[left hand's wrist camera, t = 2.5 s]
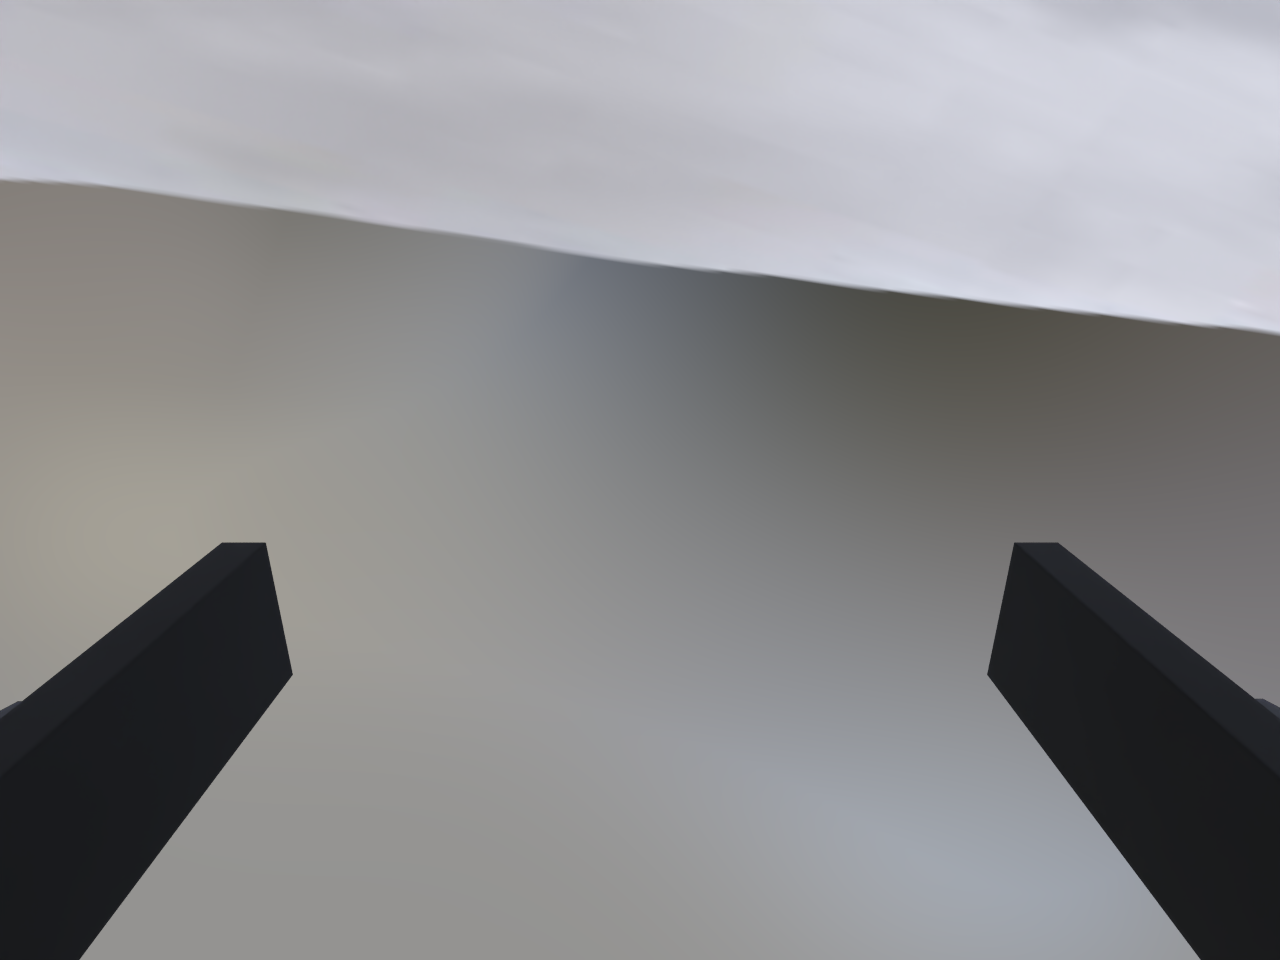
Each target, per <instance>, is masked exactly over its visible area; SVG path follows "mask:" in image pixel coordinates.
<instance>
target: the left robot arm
mask: <svg viewBox="0 0 1280 960" xmlns="http://www.w3.org/2000/svg"><path fill="white" fill-rule="evenodd" d="M292 675H293V673H292V669H291V664H290V659H289V654H288V649H287V644H286V639H285V635H284V630H283V625H282V620H281V615H280V610H279V605H278V600H277V595H276V591H275V586H274V581H273V576H272V571H271V566H270V561H269V556H268V551H267V547H266V543H221V544H220V545H219V546H217V547H216V548H215V549H213V550H212V551H211V552H210V553H208V554H207V555H206V556H205V557H203V558H202V559H201V560H200V561H198V562H197V563H196V564H195V565H193V566H192V567H191V568H190V569H188V570H187V571H186V572H184V573H183V574H182V575H181V576H179V577H178V578H177V579H176V580H174V581H173V582H172V583H171V584H169V585H168V586H167V587H166V588H164V589H163V590H162V591H161V592H159V593H158V594H157V595H155V596H154V597H153V598H152V599H150V600H149V601H148V602H147V603H145V604H144V605H143V606H142V607H140V608H139V609H138V610H137V611H135V612H134V613H133V614H132V615H130V616H129V617H128V618H126V619H125V620H124V621H123V622H121V623H120V624H119V625H118V626H116V627H115V628H114V629H113V630H111V631H110V632H109V633H108V634H106V635H105V636H104V637H103V638H101V639H100V640H99V641H98V642H96V643H95V644H94V645H92V646H91V647H90V648H89V649H87V650H86V651H85V652H84V653H82V654H81V655H80V656H79V657H77V658H76V659H75V660H74V661H72V662H71V663H70V664H69V665H67V666H66V667H65V668H63V669H62V670H61V671H60V672H58V673H57V674H56V675H55V676H53V677H52V678H51V679H50V680H48V681H47V682H46V683H45V684H43V685H42V686H41V687H40V688H38V689H37V690H36V691H35V692H33V693H32V694H31V695H29V696H28V697H27V698H26V699H24V700H23V701H18V702H16V703H14V704H12V705H10V706H8V707H6V708H4V709H2V710H1V711H0V960H79V959H80V958H81V957H82V955H83V954H84V953H85V951H86V950H87V949H88V947H89V946H90V945H91V943H92V942H93V941H94V939H95V938H96V937H97V935H98V934H99V933H100V931H101V930H102V929H103V927H104V926H105V925H106V923H107V922H108V921H109V919H110V918H111V917H112V915H113V914H114V913H115V911H116V910H117V909H118V907H119V906H120V905H121V903H122V902H123V901H124V899H125V898H126V897H127V895H128V894H129V893H130V891H131V890H132V889H133V887H134V886H135V885H136V883H137V882H138V881H139V879H140V878H141V877H142V875H143V874H144V873H145V871H146V870H147V869H148V867H149V866H150V865H151V863H152V862H153V861H154V859H155V858H156V856H157V855H158V854H159V853H160V851H161V850H162V848H163V847H164V846H165V845H166V843H167V842H168V840H169V839H170V838H171V837H172V835H173V834H174V832H175V831H176V830H177V828H178V827H179V826H180V825H181V823H182V822H183V820H184V819H185V818H186V816H187V815H188V814H189V812H190V811H191V810H192V808H193V807H194V806H195V804H196V803H197V802H198V800H199V799H200V798H201V796H202V795H203V794H204V792H205V791H206V790H207V788H208V787H209V786H210V784H211V783H212V782H213V780H214V779H215V778H216V776H217V775H218V774H219V772H220V771H221V770H222V768H223V767H224V766H225V764H226V763H227V762H228V760H229V759H230V758H231V756H232V755H233V754H234V752H235V751H236V750H237V748H238V747H239V746H240V744H241V743H242V742H243V740H244V739H245V738H246V736H247V735H248V734H249V732H250V731H251V730H252V728H253V727H254V726H255V724H256V723H257V722H258V720H259V719H260V718H261V716H262V715H263V714H264V712H265V711H266V710H267V708H268V707H269V706H270V704H271V703H272V702H273V700H274V699H275V698H276V696H277V695H278V694H279V692H280V691H281V690H282V688H283V687H284V686H285V684H286V683H287V682H288V680H289V679H290V678H291V676H292ZM987 675H988V676H989V678H990V679H991V680H992V682H993V683H994V684H995V686H996V687H997V688H998V690H999V691H1000V692H1001V694H1002V695H1003V696H1004V698H1005V699H1006V700H1007V702H1008V703H1009V704H1010V706H1011V707H1012V708H1013V710H1014V711H1015V712H1016V714H1017V715H1018V716H1019V718H1020V719H1021V720H1022V722H1023V723H1024V724H1025V726H1026V727H1027V728H1028V730H1029V731H1030V732H1031V734H1032V735H1033V736H1034V738H1035V739H1036V740H1037V742H1038V743H1039V744H1040V746H1041V747H1042V748H1043V750H1044V751H1045V752H1046V754H1047V755H1048V756H1049V758H1050V759H1051V760H1052V762H1053V763H1054V764H1055V766H1056V767H1057V768H1058V770H1059V771H1060V772H1061V774H1062V775H1063V776H1064V778H1065V779H1066V780H1067V782H1068V783H1069V784H1070V786H1071V787H1072V788H1073V790H1074V791H1075V792H1076V794H1077V795H1078V796H1079V798H1080V799H1081V800H1082V802H1083V803H1084V804H1085V806H1086V807H1087V808H1088V810H1089V811H1090V812H1091V814H1092V815H1093V816H1094V818H1095V819H1096V821H1097V822H1098V823H1099V824H1100V826H1101V827H1102V829H1103V830H1104V831H1105V832H1106V834H1107V835H1108V837H1109V838H1110V839H1111V840H1112V842H1113V843H1114V845H1115V846H1116V847H1117V849H1118V850H1119V851H1120V852H1121V854H1122V855H1123V857H1124V858H1125V859H1126V861H1127V862H1128V863H1129V865H1130V866H1131V867H1132V869H1133V870H1134V871H1135V873H1136V874H1137V875H1138V877H1139V878H1140V879H1141V881H1142V882H1143V883H1144V885H1145V886H1146V887H1147V889H1148V890H1149V891H1150V893H1151V894H1152V895H1153V897H1154V898H1155V899H1156V901H1157V902H1158V903H1159V905H1160V906H1161V907H1162V909H1163V910H1164V911H1165V913H1166V914H1167V915H1168V917H1169V918H1170V919H1171V921H1172V922H1173V923H1174V925H1175V926H1176V927H1177V929H1178V930H1179V931H1180V933H1181V934H1182V935H1183V937H1184V938H1185V939H1186V941H1187V942H1188V943H1189V945H1190V946H1191V947H1192V949H1193V950H1194V951H1195V953H1196V954H1197V955H1198V957H1199V958H1200V959H1201V960H1280V708H1279V707H1278V706H1276V705H1274V704H1272V703H1270V702H1268V701H1266V700H1264V699H1254V698H1253V697H1252V696H1251V695H1249V694H1248V693H1247V692H1245V691H1244V690H1243V689H1242V688H1240V687H1239V686H1238V685H1237V684H1235V683H1234V682H1233V681H1232V680H1230V679H1229V678H1228V677H1227V676H1225V675H1224V674H1223V673H1222V672H1220V671H1219V670H1218V669H1217V668H1215V667H1214V666H1213V665H1211V664H1210V663H1209V662H1208V661H1206V660H1205V659H1204V658H1203V657H1201V656H1200V655H1199V654H1198V653H1196V652H1195V651H1194V650H1193V649H1191V648H1190V647H1189V646H1188V645H1186V644H1185V643H1184V642H1183V641H1181V640H1180V639H1179V638H1177V637H1176V636H1175V635H1174V634H1172V633H1171V632H1170V631H1169V630H1167V629H1166V628H1165V627H1164V626H1162V625H1161V624H1160V623H1159V622H1157V621H1156V620H1155V619H1154V618H1152V617H1151V616H1150V615H1148V614H1147V613H1146V612H1145V611H1143V610H1142V609H1141V608H1140V607H1138V606H1137V605H1136V604H1135V603H1133V602H1132V601H1131V600H1130V599H1128V598H1127V597H1126V596H1125V595H1123V594H1122V593H1121V592H1119V591H1118V590H1117V589H1116V588H1114V587H1113V586H1112V585H1111V584H1109V583H1108V582H1107V581H1106V580H1104V579H1103V578H1102V577H1101V576H1099V575H1098V574H1097V573H1096V572H1094V571H1093V570H1092V569H1090V568H1089V567H1088V566H1087V565H1086V564H1084V563H1083V562H1082V561H1080V560H1079V559H1078V558H1077V557H1075V556H1074V555H1073V554H1072V553H1070V552H1069V551H1068V550H1067V549H1065V548H1064V547H1063V546H1062V545H1060V544H1059V543H1014V547H1013V552H1012V557H1011V561H1010V566H1009V571H1008V576H1007V581H1006V586H1005V591H1004V595H1003V600H1002V605H1001V610H1000V615H999V620H998V625H997V630H996V635H995V639H994V644H993V649H992V654H991V659H990V664H989V669H988V674H987Z"/></svg>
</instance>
